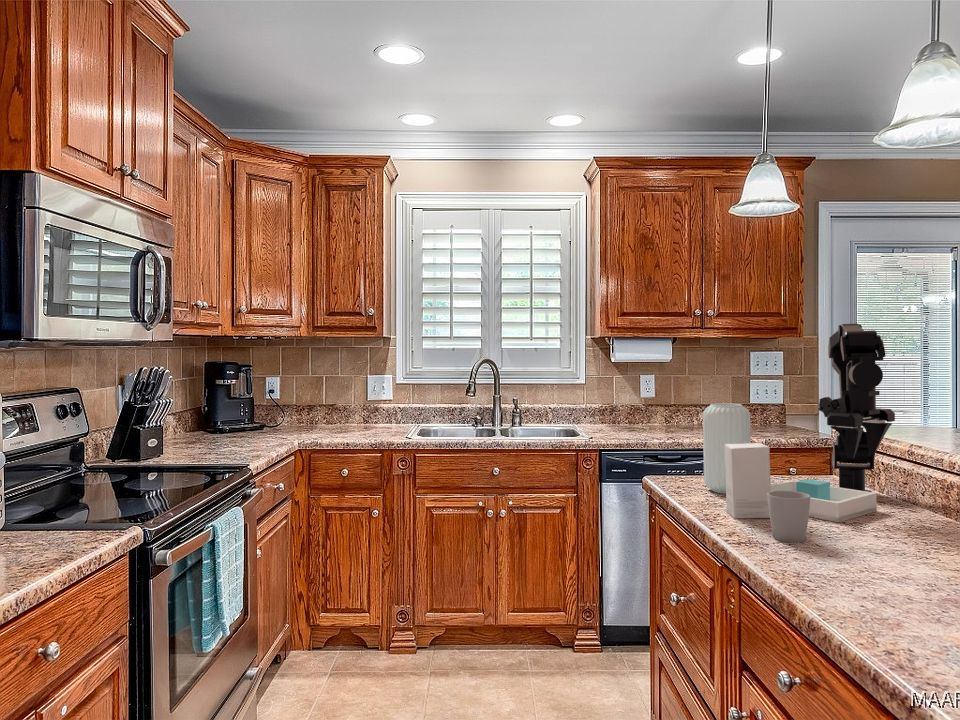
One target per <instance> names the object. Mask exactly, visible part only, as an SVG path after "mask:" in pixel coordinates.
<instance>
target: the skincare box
mask: <svg viewBox="0 0 960 720" xmlns="http://www.w3.org/2000/svg"><path fill="white" fill-rule="evenodd" d="M770 450H771V448H770V446H768V445H765V444H763V443H761V442H755V443H753V442H751V443H747V444H725V469H726V494H725V495H726V497H725V498H726V513H727V514H729V515H730V516H731V517H732V518H733V519H734V520H736V519H770V514H769V506H768V498H767V493H768V492H771V481H772V480H771V458H770V457H771V456H770V453H771V451H770Z"/></svg>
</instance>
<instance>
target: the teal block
mask: <svg viewBox="0 0 960 720" xmlns="http://www.w3.org/2000/svg"><path fill="white" fill-rule="evenodd" d="M797 481H798V480H797ZM796 483H797V492H802V493H806V494H809V495H810V497H811V498H817V499H823V500H828V501H830V486H831V482H829V481H825V480H818V479H810V478H807V479H803V480H799V481H798V482H796Z"/></svg>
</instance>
